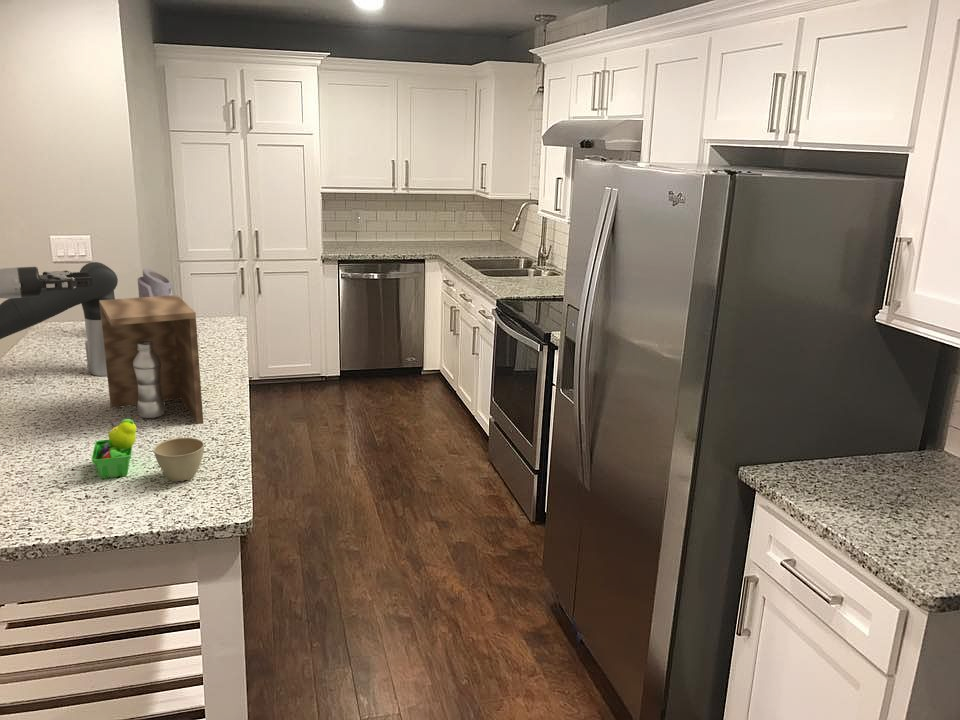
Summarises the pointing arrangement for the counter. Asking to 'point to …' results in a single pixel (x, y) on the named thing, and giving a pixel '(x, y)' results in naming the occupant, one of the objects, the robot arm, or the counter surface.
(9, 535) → the counter surface
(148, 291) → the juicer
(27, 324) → the robot arm
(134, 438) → the fruit basket
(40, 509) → the counter surface
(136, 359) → the plastic bottle
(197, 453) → the flower pot
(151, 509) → the counter surface
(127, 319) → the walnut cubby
